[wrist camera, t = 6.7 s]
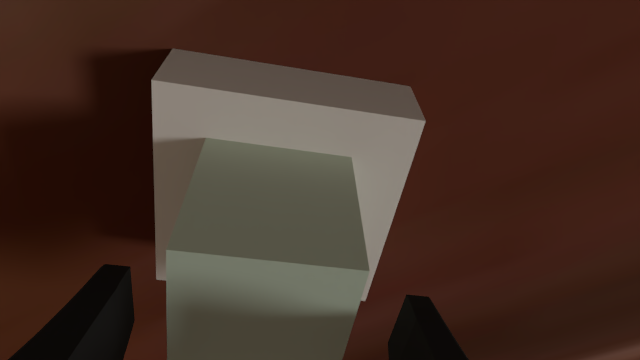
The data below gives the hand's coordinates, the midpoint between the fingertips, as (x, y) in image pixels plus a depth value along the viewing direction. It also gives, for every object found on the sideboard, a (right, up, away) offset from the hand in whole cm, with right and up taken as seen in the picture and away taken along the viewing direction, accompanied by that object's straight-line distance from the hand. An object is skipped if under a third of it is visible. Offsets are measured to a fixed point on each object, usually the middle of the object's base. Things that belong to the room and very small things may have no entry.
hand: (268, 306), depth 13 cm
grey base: (0, +4, +6) cm, 7 cm away
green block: (0, +2, +3) cm, 4 cm away
